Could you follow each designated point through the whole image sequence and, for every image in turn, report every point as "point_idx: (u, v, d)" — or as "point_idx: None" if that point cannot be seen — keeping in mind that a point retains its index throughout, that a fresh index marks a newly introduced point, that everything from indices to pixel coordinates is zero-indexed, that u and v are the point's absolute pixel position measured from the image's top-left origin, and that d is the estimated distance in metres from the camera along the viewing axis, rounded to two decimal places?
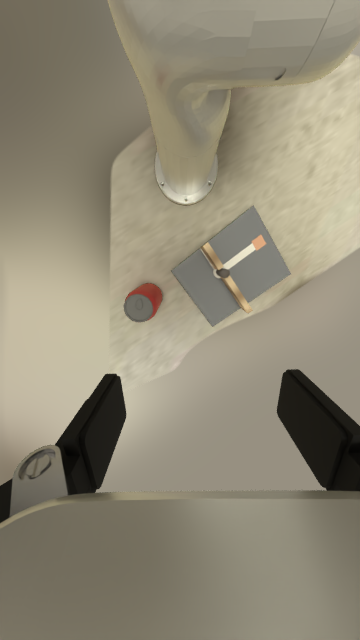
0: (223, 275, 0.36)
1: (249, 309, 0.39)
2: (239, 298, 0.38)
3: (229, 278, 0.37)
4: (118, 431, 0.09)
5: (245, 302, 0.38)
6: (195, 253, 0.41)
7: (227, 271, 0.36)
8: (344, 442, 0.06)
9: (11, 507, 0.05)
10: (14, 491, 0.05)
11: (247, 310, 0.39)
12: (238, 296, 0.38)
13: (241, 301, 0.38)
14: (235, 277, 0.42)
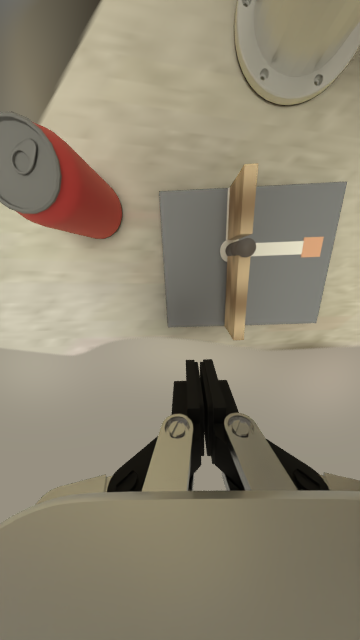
0: (241, 248, 0.18)
1: (240, 335, 0.21)
2: (238, 307, 0.20)
3: (246, 262, 0.19)
4: None
5: (242, 320, 0.21)
6: (216, 191, 0.21)
7: (252, 246, 0.18)
8: (211, 415, 0.07)
9: (155, 448, 0.06)
10: (159, 437, 0.06)
11: (236, 335, 0.21)
12: (238, 303, 0.20)
13: (237, 314, 0.20)
14: None
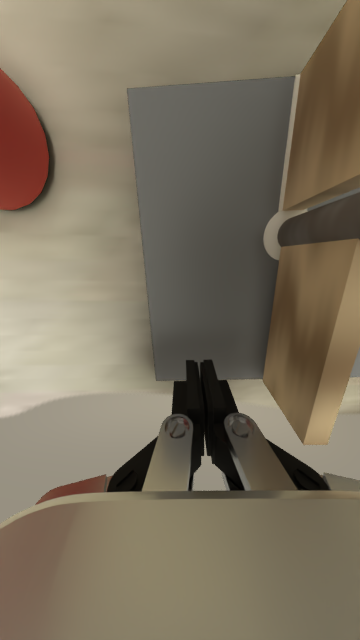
0: None
1: (320, 436, 0.09)
2: (327, 379, 0.08)
3: None
4: None
5: (332, 406, 0.08)
6: (265, 87, 0.09)
7: None
8: (211, 415, 0.07)
9: (155, 448, 0.06)
10: (159, 437, 0.06)
11: (311, 435, 0.09)
12: (331, 369, 0.08)
13: (323, 394, 0.08)
14: None
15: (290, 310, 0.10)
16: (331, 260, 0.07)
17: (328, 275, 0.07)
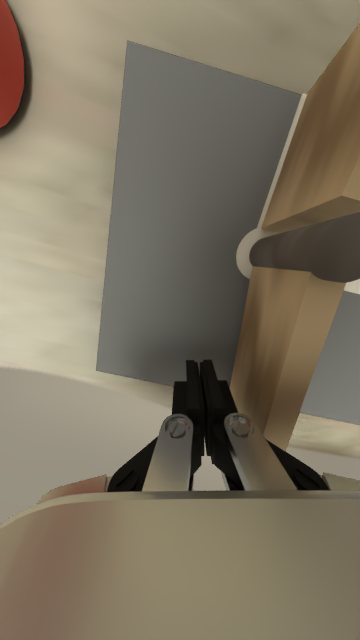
0: (332, 250, 0.05)
1: None
2: (276, 412, 0.07)
3: (329, 297, 0.06)
4: None
5: (281, 440, 0.08)
6: (270, 95, 0.08)
7: None
8: (211, 415, 0.07)
9: (155, 448, 0.06)
10: (159, 437, 0.06)
11: None
12: (281, 403, 0.07)
13: (272, 427, 0.08)
14: None
15: (253, 333, 0.09)
16: (288, 289, 0.07)
17: (285, 305, 0.07)
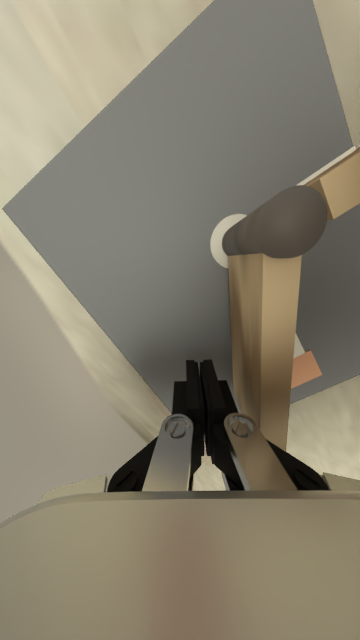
0: (273, 229, 0.05)
1: None
2: (267, 395, 0.07)
3: (288, 274, 0.06)
4: None
5: (280, 422, 0.08)
6: (337, 121, 0.09)
7: (314, 216, 0.05)
8: (211, 415, 0.07)
9: (155, 448, 0.06)
10: (159, 437, 0.06)
11: None
12: (269, 385, 0.07)
13: (267, 410, 0.08)
14: (205, 303, 0.12)
15: (239, 321, 0.10)
16: (252, 273, 0.07)
17: (252, 289, 0.07)
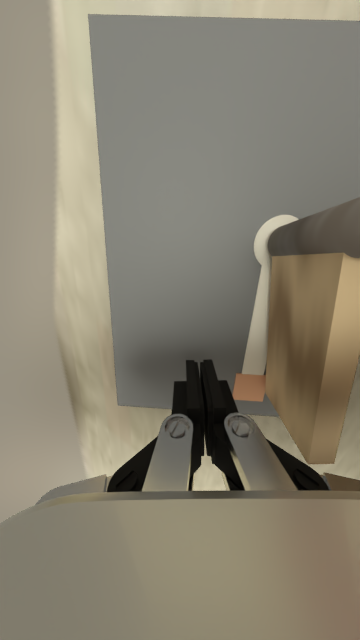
0: None
1: (326, 454, 0.08)
2: (326, 396, 0.07)
3: None
4: None
5: (335, 424, 0.08)
6: None
7: None
8: (211, 415, 0.07)
9: (155, 448, 0.06)
10: (159, 437, 0.06)
11: (316, 454, 0.08)
12: (329, 386, 0.07)
13: (323, 412, 0.08)
14: (218, 279, 0.11)
15: (285, 322, 0.10)
16: (320, 273, 0.07)
17: (318, 288, 0.07)
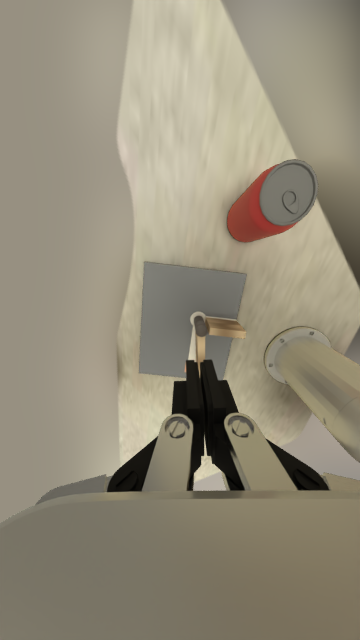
0: (198, 332, 0.27)
1: None
2: (199, 365, 0.30)
3: (202, 338, 0.28)
4: None
5: None
6: (236, 312, 0.32)
7: (205, 330, 0.27)
8: (211, 415, 0.07)
9: (155, 448, 0.06)
10: (159, 437, 0.06)
11: None
12: (199, 362, 0.30)
13: (199, 369, 0.30)
14: (179, 328, 0.34)
15: (196, 345, 0.32)
16: (197, 336, 0.29)
17: (197, 339, 0.29)
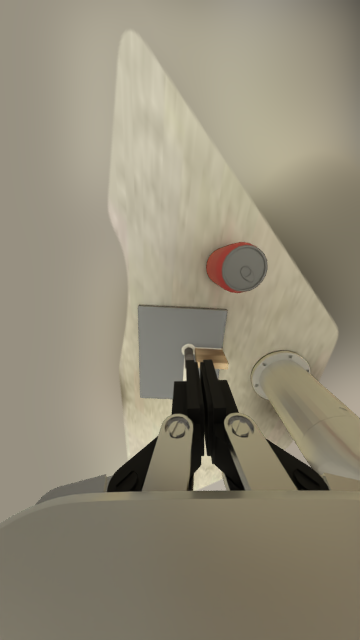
0: None
1: None
2: None
3: None
4: None
5: None
6: (221, 342, 0.37)
7: None
8: (211, 415, 0.07)
9: (155, 448, 0.06)
10: (159, 437, 0.06)
11: None
12: None
13: None
14: (172, 358, 0.38)
15: None
16: None
17: None
